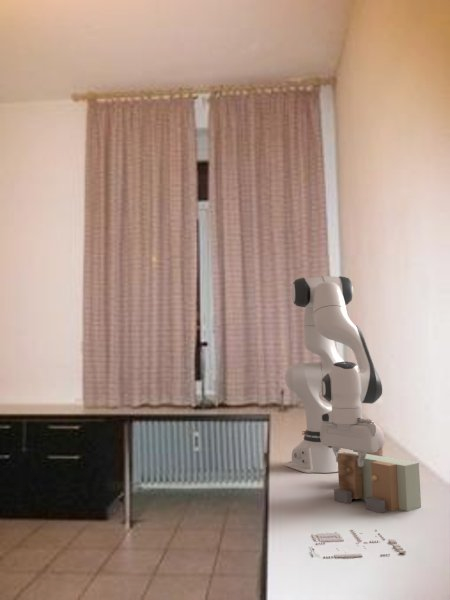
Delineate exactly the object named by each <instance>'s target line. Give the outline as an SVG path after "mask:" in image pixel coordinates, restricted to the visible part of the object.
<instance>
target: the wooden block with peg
mask: <svg viewBox="0 0 450 600" xmlns="http://www.w3.org/2000/svg"><path fill="white" fill-rule="evenodd" d="M358 458H359V455H356V454H351V453H348V452H345V451H344V452H340V453H338V474H337V475H338V489H342V490H346V491H350V492H352V500H353V499H355V500H360V499H359V498H363V487H362V467H358V466H356V460H358Z"/></svg>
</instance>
